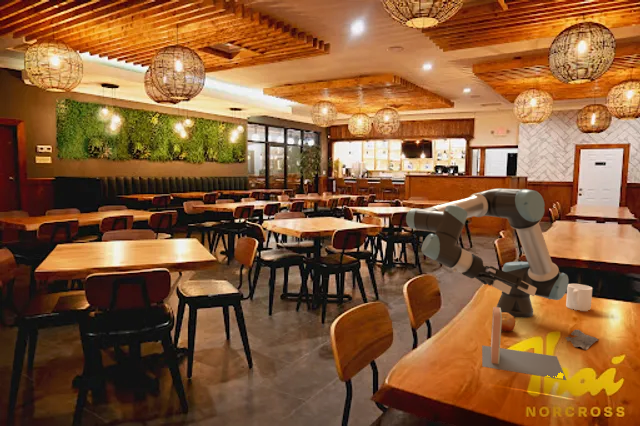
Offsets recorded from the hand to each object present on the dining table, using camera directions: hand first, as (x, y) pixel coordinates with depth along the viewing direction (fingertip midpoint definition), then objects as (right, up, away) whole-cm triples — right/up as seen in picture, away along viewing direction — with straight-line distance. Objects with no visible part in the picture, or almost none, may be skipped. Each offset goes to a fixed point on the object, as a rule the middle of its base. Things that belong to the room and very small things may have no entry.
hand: (521, 291), depth 142 cm
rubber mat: (0, -24, 0) cm, 24 cm away
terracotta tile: (-8, -23, +3) cm, 25 cm away
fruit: (+7, -21, +29) cm, 37 cm away
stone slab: (+32, -23, +20) cm, 44 cm away
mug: (+54, -19, +58) cm, 81 cm away
